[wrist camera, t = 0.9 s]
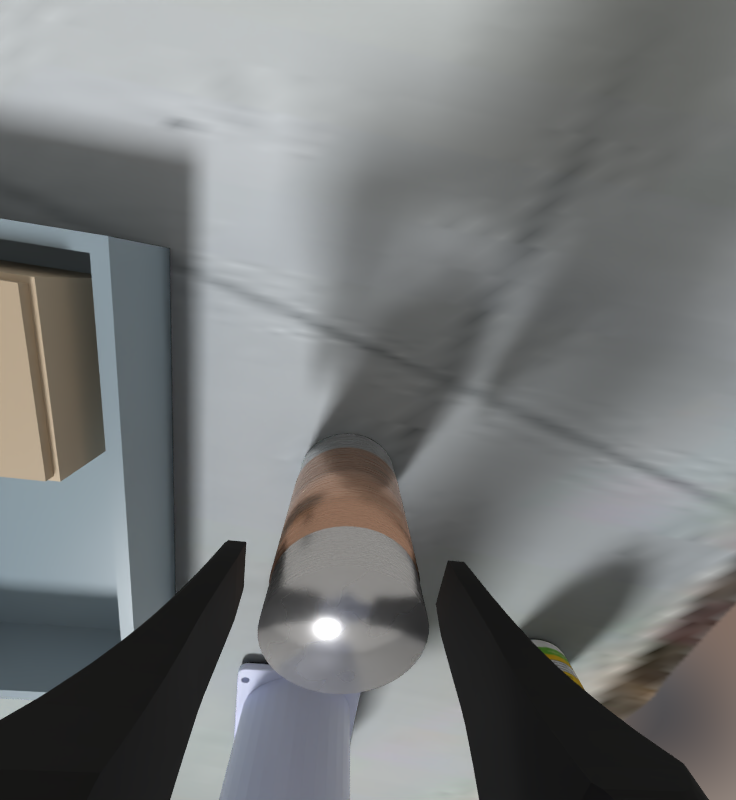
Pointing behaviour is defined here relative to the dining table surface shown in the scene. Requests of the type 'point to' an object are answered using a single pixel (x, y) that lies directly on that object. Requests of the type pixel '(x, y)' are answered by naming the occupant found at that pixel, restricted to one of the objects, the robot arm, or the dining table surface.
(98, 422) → the plain tan box
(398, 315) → the dining table surface
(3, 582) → the tote
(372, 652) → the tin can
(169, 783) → the robot arm
